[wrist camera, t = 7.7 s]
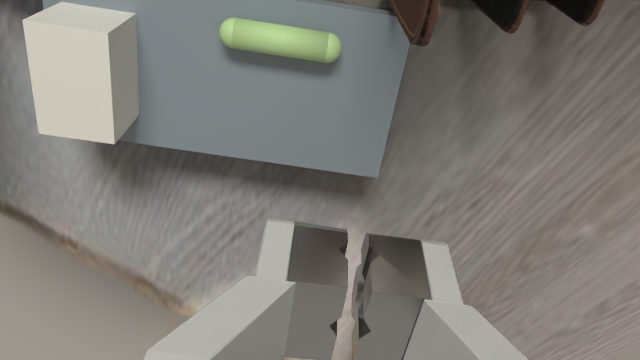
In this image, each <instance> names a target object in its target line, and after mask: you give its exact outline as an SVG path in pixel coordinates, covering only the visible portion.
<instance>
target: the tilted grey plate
mask: <svg viewBox="0 0 640 360" xmlns="http://www.w3.org/2000/svg"><path fill="white" fill-rule="evenodd" d="M43 8H44V10H43V11H41V12H38V13H36V14H34V15H32V16H30V17H28V18H26V19H24V20H23V27H24V34H25V41H26V48H27V55H28V62H29V69H30V76H31V83H32V90H33V97H34V104H35V111H36V118H37V125H38V132H39V134H45V135H52V136H59V137H66V138H73V139H80V140H87V141H94V142H101V143H108V144H115V143H116V142H117V141H124V142H130V143H137V144H144V145H151V146H158V147H165V148H172V149H179V150H186V151H193V152H200V153H207V154H214V155H221V156H228V157H235V158H242V159H249V160H255V161H262V162H269V163H276V164H283V165H290V166H297V167H304V168H311V169H318V170H325V171H332V172H339V173H346V174H353V175H360V176H367V177H374V178H378V175H379V171H380V167H381V163H382V159H383V154H384V150H385V146H386V142H387V138H388V134H389V129H390V125H391V121H392V117H393V113H394V108H395V104H396V100H397V96H398V92H399V88H400V83H401V79H402V75H403V71H404V67H405V62H406V58H407V54H408V50H409V46H410V42H409V40H408V38H407V36H406V34H405V33H404V30H403V29H402V27H401V25H400V23H399V21H398V19H397V17H396V14H395V12H394V11H388V10H382V9H375V8H369V7H363V6H357V5H351V4H344V3H338V2H332V1H326V0H43Z"/></svg>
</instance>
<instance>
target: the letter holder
mask: <svg viewBox="0 0 640 360" xmlns="http://www.w3.org/2000/svg"><path fill="white" fill-rule="evenodd" d="M471 1H472V2H473V3H474V4H475V5H476V6H477V7H478V8H479V9H480V10H481V11H482V12H483V13H484V14H486V15H487V16H488V17H489V18H490V19H491V20H492V21H493V22H494V23H495V24H497V25H498V26H499V27H500V28H501V29H502V30H503V31H505V32H507V33H509V34H511V33H514V32H515V31H516V30H517V29H518V27H519V26H520V24H521V22H522V20H523V17H524V15H525V12H526V9H527V6H528V3H529V0H471ZM539 1H546V2H547V3H549V4H551V5H553V6H554V7H556V8H557V9H559V10H560V11H562V12H563V13H564V14H566V15H567V16H568V17H570V18H571V19H573V20H574V21H576V22H577V23H578V24H580V25H582V26H587V25H589V24H591V23H592V22H593V21H594V20H595V19H596V17H597V16H598V14H599V12H600V10H601V8H602V6H603V4H604V2H605V0H539ZM389 2H390V4H391V7H392V8H393V10H394V12H395V14H396V17H397V19H398V21H399V23H400V25H401V27H402V29H403V30H404V33H405V34H406V36H407V38H408V40H409V42H410V43H411V44H416V45H419V46H426V45H427V44H428V43H429V41H430V39H431V36H432V33H433V30H434V27H435V23H436V20H437V16H438V11H439V7H440V3H441V0H389Z"/></svg>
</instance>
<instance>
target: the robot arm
mask: <svg viewBox="0 0 640 360" xmlns="http://www.w3.org/2000/svg"><path fill="white" fill-rule="evenodd" d="M293 231H294V232H293ZM292 238H293V239H292ZM347 243H348V233H347V230H345V229H338V228H332V227H326V226H320V225H314V224H307V223H301V222H295V226H294V222H293V221H287V220H280V219H274V218H268V219H267V221H266V225H265V229H264V234H263V239H262V243H261V248H260V253H259V257H258V262H257V267H256V271H255V276H245V277H244V278H243V279H241V280H240V281H239V282H237V283H236V284H235V285H233V286H232V287H231V288H229V289H228V290H227V291H225V292H224V293H223V294H221V295H220V296H219V297H217V298H216V299H215V300H213V301H212V302H211V303H209V304H208V305H207V306H205V307H204V308H203V309H202V310H200V311H199V312H198V313H196V314H195V315H194V316H192V317H191V318H190V319H188V320H187V321H186V322H184V323H183V324H182V325H180V326H179V327H178V328H176V329H175V330H174V331H172V332H171V333H170V334H169V335H167V336H166V337H164V338H163V339H162V340H161V341H159V342H158V343H157V344H155V345H154V346H153V347H151V348H150V349H149V350H147V353H146V355H145V358H144V360H284V357H293V358H303V359H313V360H331V357H332V353H333V349H334V345H335V341H336V336H337V320H338V319H339V318H341V315H342V311H343V306H344V302H345V297H346V293H347V288H348V260H347V259H346V257H345V253H346V248H347ZM361 254H362V264H361V265H359V266H358V267H357V270H356V275H355V279H354V285H353V292H352V317H353V318H354V319H355V324H354V328H353V332H352V360H528V359H527V358H526V357H525V356H524V355H523V354H522V353H521V352H520V351H519V350H518V349H516V348H515V347H514V346H513V345H512V344H511V343H510V342H509V341H508V340H507V339H506V338H505V337H504V336H503V335H502V334H501V333H500V332H499V331H498V330H497V329H495V328H494V327H493V326H492V325H491V324H490V323H489V322H488V321H487V320H486V319H485V318H484V317H483V316H482V315H481V314H480V313H479V312H478V311H477V310H476V309H474V308H473V307H472V306H469V305H464V303H463V300H462V296H461V292H460V288H459V285H458V281H457V277H456V274H455V270H454V266H453V262H452V259H451V255H450V251H449V247H448V245H447V244H446V243H445V242H440V241H431V240H422V239H419V240H415V239H407V238H400V237H392V236H385V235H378V234H370V233H366V235H365V238H364V241H363V245H362V249H361Z"/></svg>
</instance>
